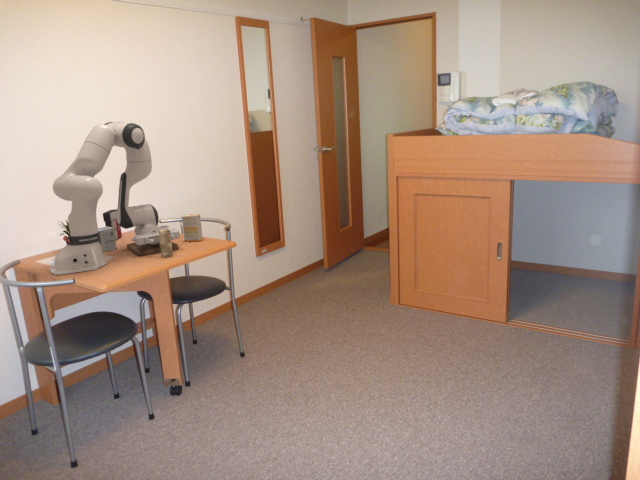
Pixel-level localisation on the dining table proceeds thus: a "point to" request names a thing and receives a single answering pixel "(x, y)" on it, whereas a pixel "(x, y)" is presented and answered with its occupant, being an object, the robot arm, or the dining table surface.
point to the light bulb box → (107, 238)
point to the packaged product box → (112, 222)
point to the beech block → (165, 243)
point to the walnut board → (147, 248)
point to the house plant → (65, 228)
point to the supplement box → (192, 227)
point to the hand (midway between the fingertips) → (162, 239)
